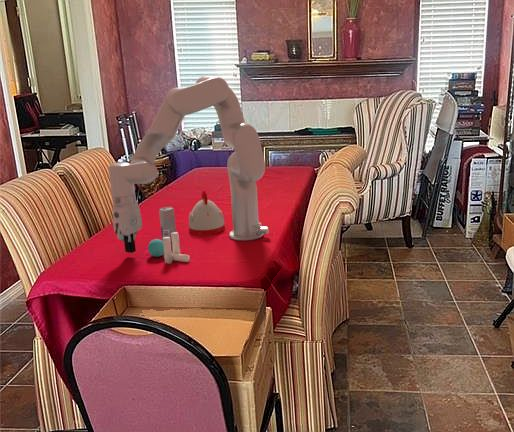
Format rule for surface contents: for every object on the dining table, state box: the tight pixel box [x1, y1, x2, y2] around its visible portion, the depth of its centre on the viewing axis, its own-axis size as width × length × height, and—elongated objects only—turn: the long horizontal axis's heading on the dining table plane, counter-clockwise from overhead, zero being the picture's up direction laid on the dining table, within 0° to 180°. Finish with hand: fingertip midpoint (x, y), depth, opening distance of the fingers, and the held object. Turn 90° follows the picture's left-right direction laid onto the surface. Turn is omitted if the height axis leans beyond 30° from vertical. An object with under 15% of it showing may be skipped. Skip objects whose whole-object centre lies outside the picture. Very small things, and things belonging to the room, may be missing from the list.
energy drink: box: [158, 206, 177, 242], centre depth 205 cm, size 5×5×12 cm
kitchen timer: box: [188, 190, 226, 235], centre depth 216 cm, size 14×14×15 cm
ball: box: [147, 238, 164, 258], centre depth 189 cm, size 6×6×6 cm
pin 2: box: [171, 231, 181, 254], centre depth 187 cm, size 2×2×8 cm
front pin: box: [163, 252, 190, 263], centre depth 185 cm, size 2×2×8 cm
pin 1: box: [162, 237, 173, 265], centre depth 182 cm, size 2×2×8 cm
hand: (130, 251), depth 191 cm, fingers closed
